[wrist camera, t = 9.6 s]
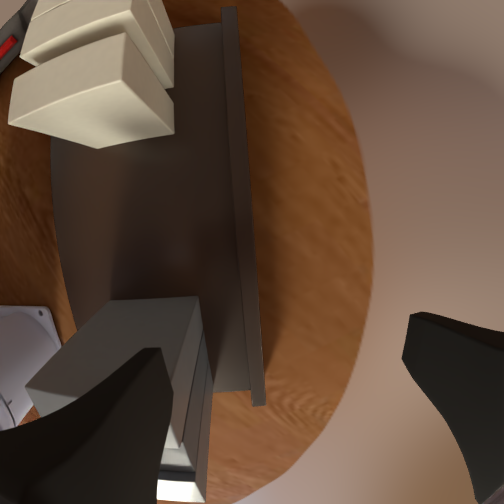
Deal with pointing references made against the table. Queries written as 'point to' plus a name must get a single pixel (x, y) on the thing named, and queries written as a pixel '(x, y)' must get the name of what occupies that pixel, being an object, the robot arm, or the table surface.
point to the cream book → (94, 96)
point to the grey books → (120, 351)
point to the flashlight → (15, 33)
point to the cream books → (101, 30)
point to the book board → (173, 210)
